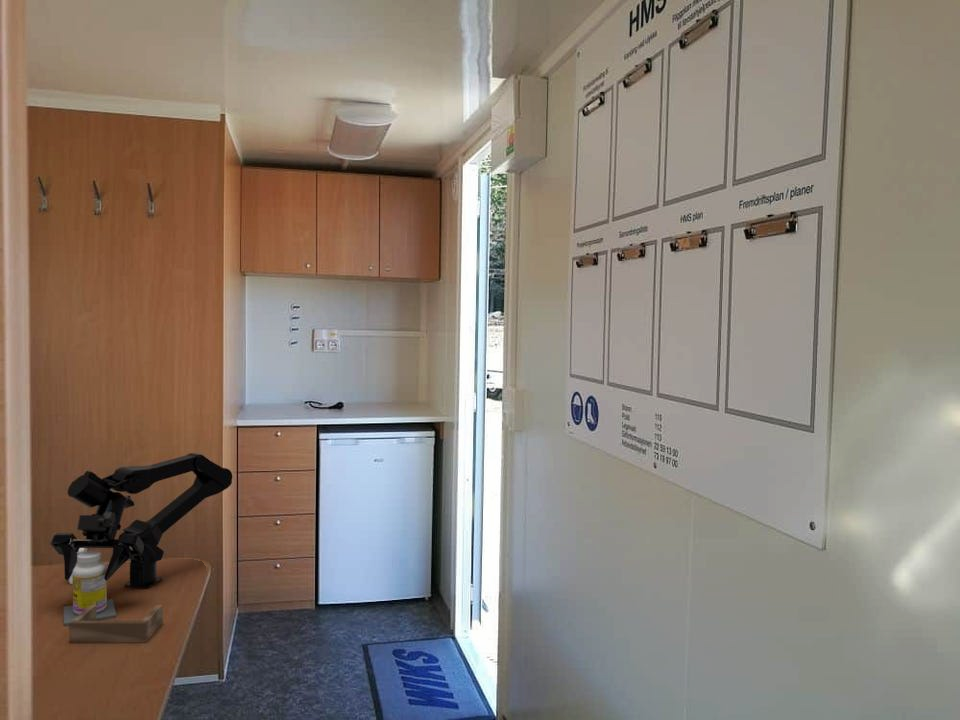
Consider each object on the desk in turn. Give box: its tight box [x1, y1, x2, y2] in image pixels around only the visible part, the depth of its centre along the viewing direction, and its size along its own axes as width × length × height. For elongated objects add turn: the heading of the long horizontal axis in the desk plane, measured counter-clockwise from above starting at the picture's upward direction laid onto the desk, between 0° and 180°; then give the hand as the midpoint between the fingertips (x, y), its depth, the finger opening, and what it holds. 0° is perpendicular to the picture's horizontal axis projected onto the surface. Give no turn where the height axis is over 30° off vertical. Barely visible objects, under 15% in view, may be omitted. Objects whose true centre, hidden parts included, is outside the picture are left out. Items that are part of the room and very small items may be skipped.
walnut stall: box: [68, 604, 164, 643], centre depth 154 cm, size 9×15×4 cm, turn 93°
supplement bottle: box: [72, 550, 108, 615], centre depth 163 cm, size 7×7×13 cm
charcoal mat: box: [63, 598, 117, 627], centre depth 163 cm, size 10×10×1 cm
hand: (86, 579), depth 161 cm, fingers open, 8 cm apart
